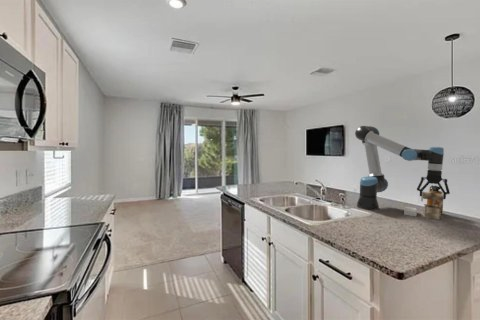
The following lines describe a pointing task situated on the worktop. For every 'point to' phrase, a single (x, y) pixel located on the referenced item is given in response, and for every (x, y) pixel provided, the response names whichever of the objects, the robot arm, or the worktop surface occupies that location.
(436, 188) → the canister
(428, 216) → the box
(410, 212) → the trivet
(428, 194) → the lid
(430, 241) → the worktop surface
